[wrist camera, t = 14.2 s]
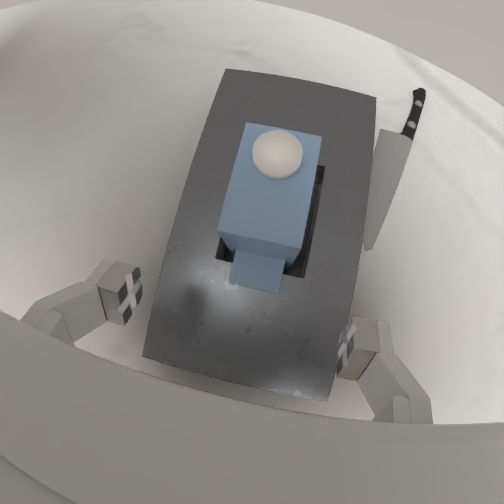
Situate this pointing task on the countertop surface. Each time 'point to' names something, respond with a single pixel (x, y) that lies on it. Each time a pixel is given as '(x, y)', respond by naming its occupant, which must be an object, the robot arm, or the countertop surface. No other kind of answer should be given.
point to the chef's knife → (389, 170)
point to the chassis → (291, 288)
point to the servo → (268, 203)
